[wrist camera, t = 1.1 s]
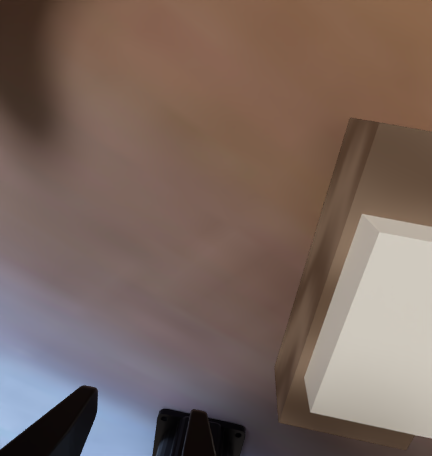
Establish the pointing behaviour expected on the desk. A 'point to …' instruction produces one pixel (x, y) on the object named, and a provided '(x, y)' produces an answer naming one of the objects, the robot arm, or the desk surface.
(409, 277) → the white flat block
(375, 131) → the brown long block
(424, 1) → the desk surface
